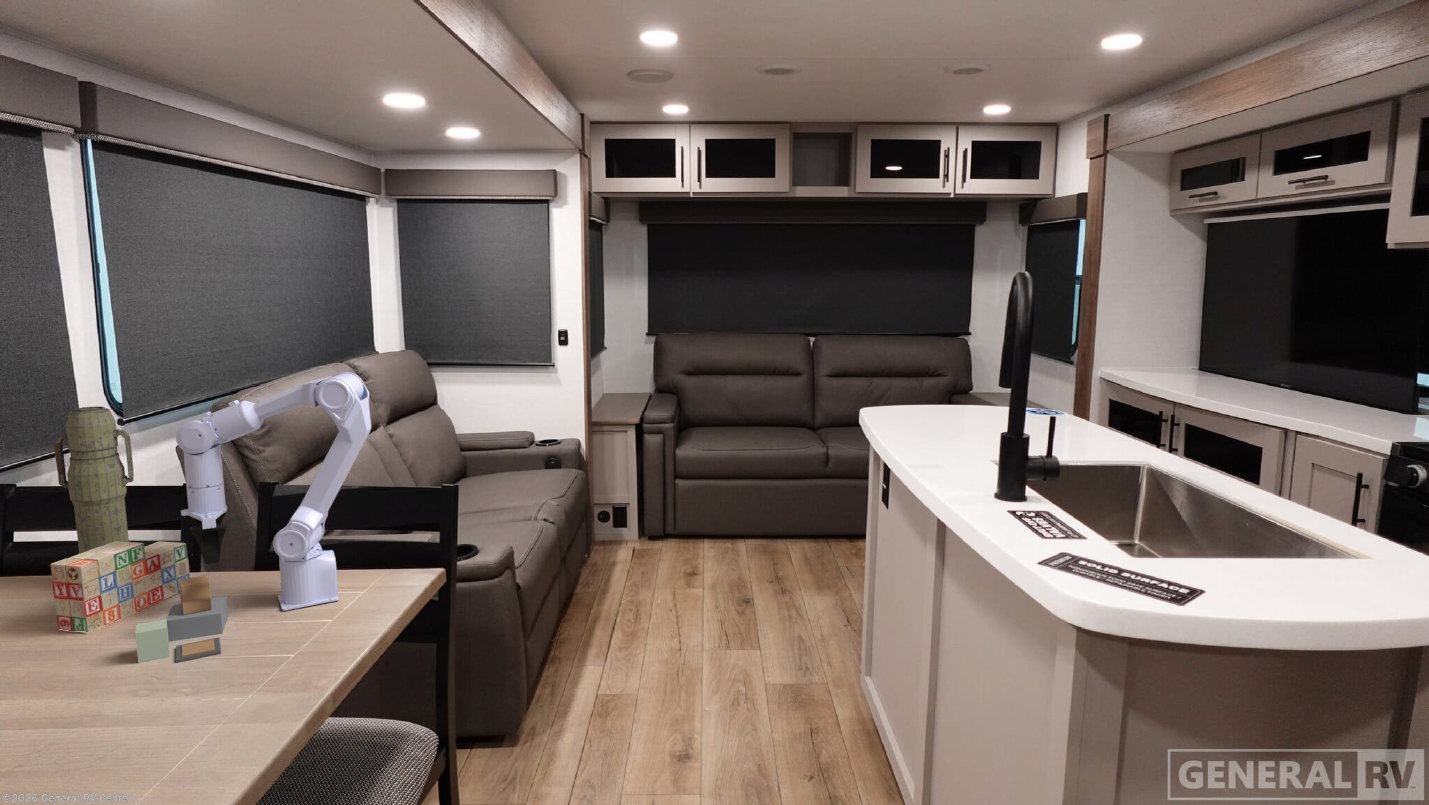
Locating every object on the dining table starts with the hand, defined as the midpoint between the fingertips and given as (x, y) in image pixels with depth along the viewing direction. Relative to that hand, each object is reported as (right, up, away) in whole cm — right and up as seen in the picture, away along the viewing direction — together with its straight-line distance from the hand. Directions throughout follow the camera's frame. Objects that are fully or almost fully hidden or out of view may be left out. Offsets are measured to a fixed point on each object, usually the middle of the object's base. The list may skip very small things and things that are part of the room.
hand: (211, 556), depth 147 cm
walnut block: (+3, -7, -9) cm, 12 cm away
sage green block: (+2, -12, -18) cm, 22 cm away
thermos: (-28, -8, +12) cm, 31 cm away
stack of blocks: (-15, -10, 0) cm, 18 cm away
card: (+8, -12, -17) cm, 22 cm away
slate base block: (+3, -11, -8) cm, 14 cm away
